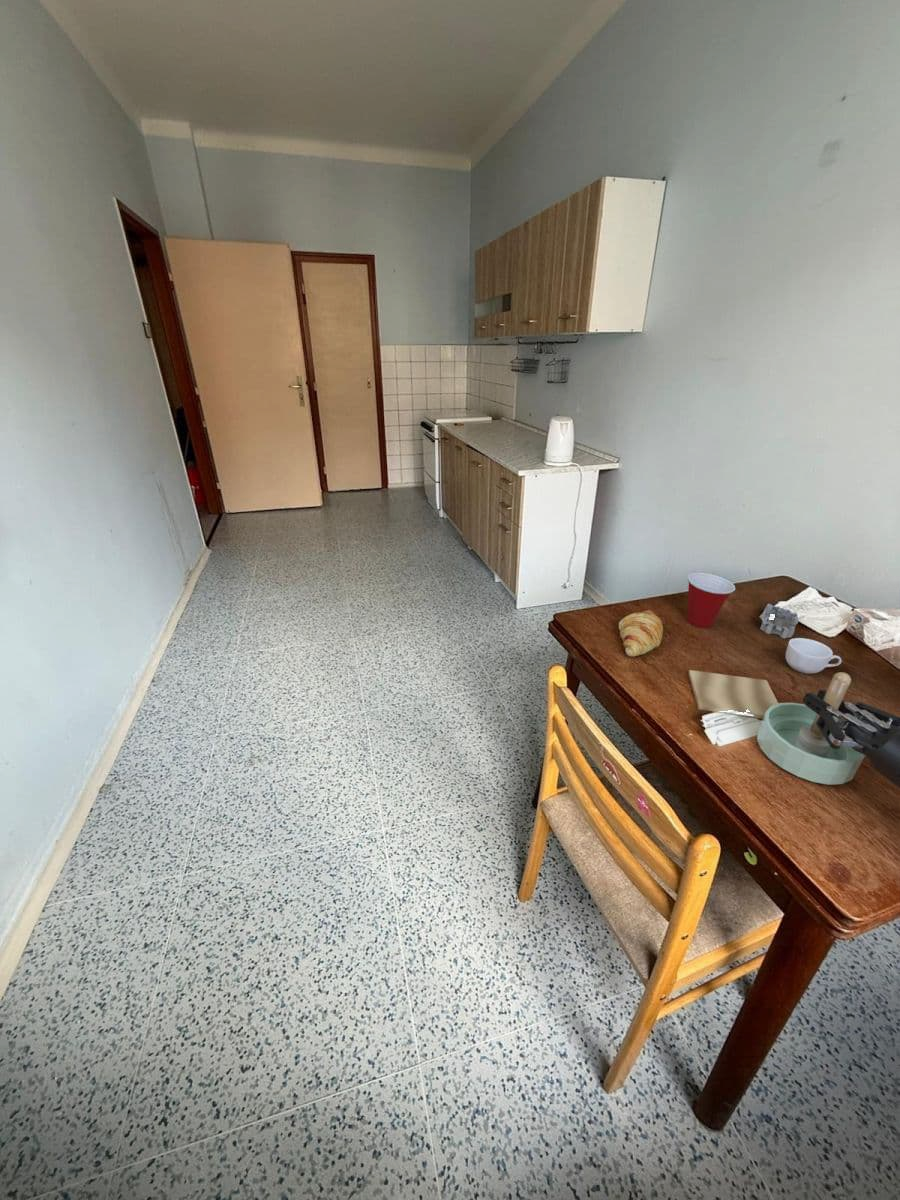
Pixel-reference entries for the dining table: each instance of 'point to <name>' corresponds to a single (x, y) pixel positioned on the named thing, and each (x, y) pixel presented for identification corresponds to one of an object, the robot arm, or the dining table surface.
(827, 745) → the dish brush
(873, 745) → the robot arm
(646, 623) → the croissant
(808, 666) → the teacup
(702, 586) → the plastic cup
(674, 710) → the dining table surface
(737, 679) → the flat beige board
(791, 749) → the bowl
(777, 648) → the dining table surface
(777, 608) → the egg carton
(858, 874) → the dining table surface
